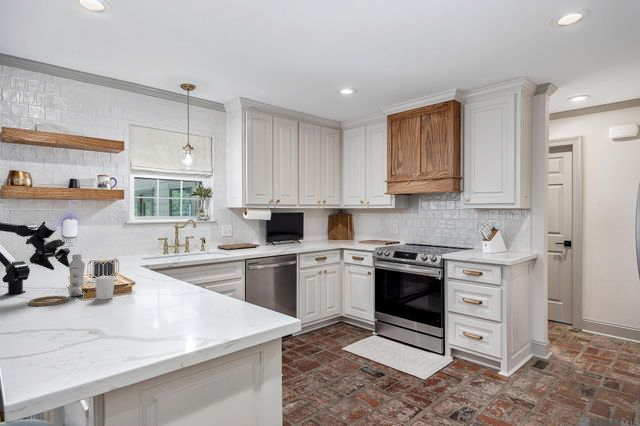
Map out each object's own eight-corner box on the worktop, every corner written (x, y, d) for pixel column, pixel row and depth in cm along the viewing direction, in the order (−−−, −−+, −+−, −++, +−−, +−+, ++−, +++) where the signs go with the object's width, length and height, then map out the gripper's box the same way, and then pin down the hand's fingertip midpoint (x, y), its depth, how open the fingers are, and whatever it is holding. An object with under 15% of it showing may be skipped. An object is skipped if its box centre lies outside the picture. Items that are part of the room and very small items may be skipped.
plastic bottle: (69, 295, 181) (69, 254, 181) (85, 293, 184) (86, 253, 183) (66, 297, 175) (67, 255, 175) (83, 296, 178) (83, 255, 178)
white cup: (91, 299, 173) (91, 278, 172) (105, 295, 180) (105, 275, 180) (104, 300, 170) (104, 279, 170) (118, 296, 178) (118, 276, 178)
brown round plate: (36, 299, 171) (36, 296, 171) (72, 297, 175) (72, 294, 175) (22, 307, 157) (22, 304, 157) (61, 305, 162) (61, 301, 162)
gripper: (35, 234, 171) (56, 259, 170) (67, 232, 190) (86, 254, 188) (19, 251, 172) (40, 275, 171) (53, 247, 191) (72, 269, 189)
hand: (61, 268), depth 180 cm, fingers open, 9 cm apart
